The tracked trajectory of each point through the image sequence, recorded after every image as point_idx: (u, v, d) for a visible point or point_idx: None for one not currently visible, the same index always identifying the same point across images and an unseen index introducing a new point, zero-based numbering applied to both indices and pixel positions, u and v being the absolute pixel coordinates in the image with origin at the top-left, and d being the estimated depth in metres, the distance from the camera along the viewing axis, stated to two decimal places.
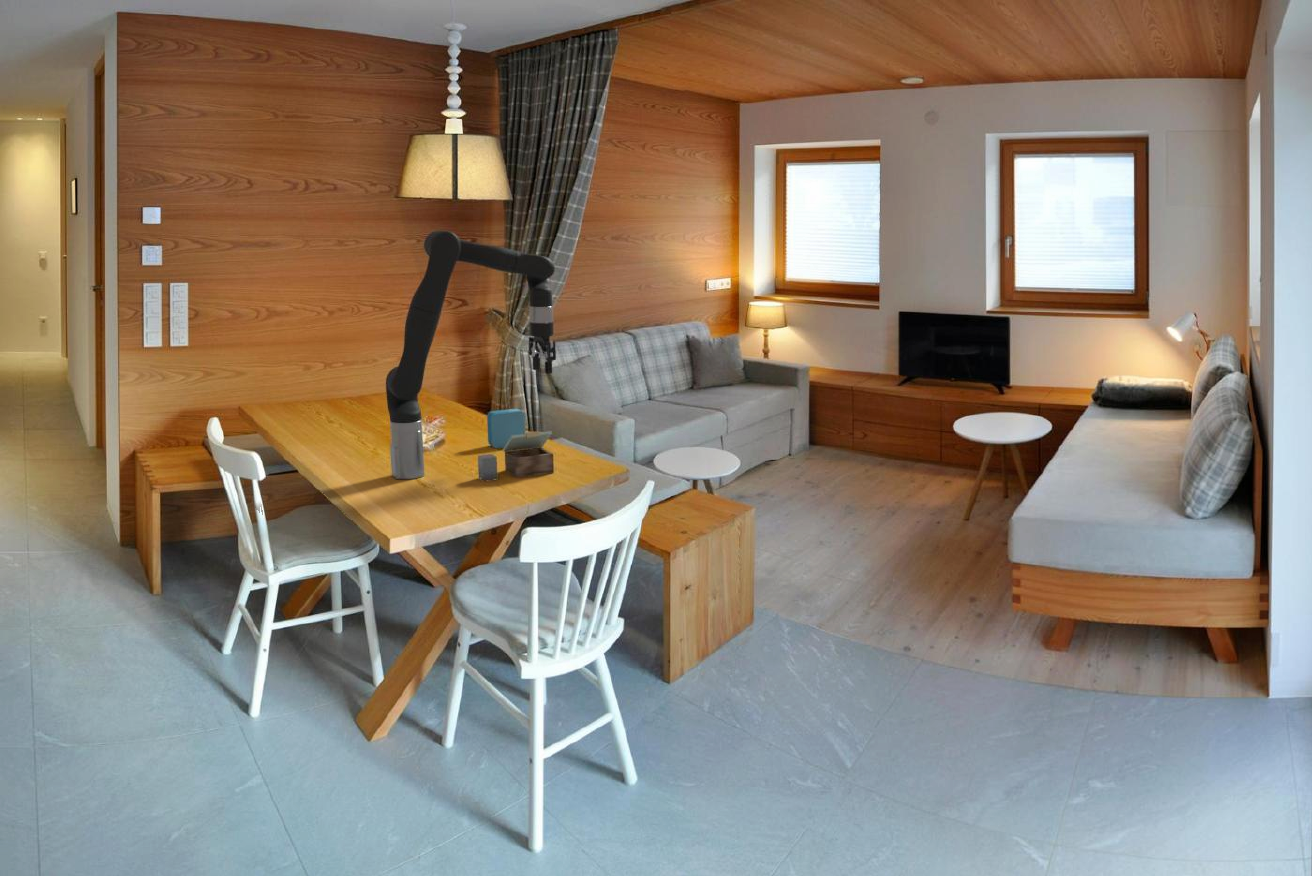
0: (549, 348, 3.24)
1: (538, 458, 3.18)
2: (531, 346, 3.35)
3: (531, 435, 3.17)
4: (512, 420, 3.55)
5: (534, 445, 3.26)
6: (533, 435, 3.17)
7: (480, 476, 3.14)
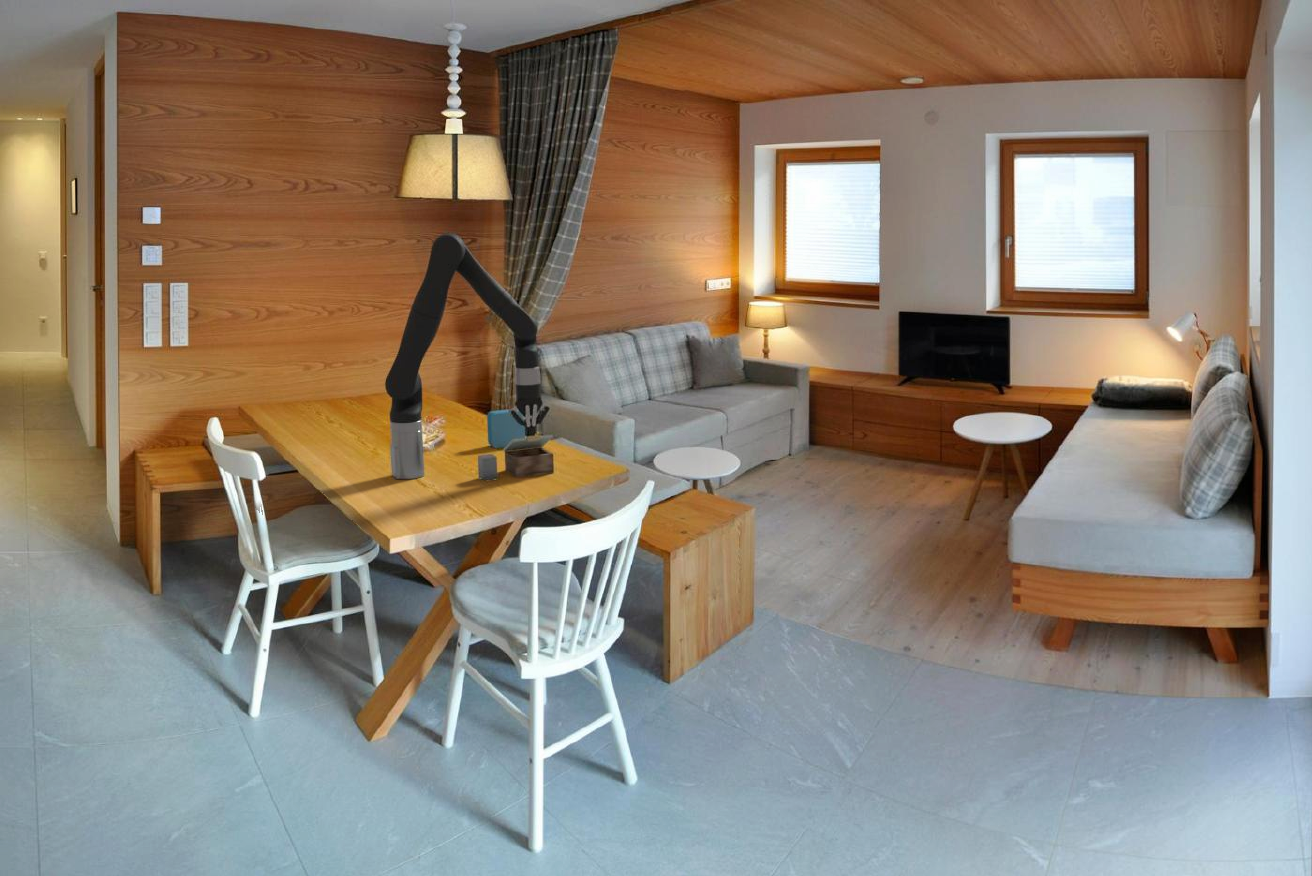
0: None
1: (538, 458, 3.18)
2: (518, 416, 3.15)
3: (532, 439, 3.16)
4: (512, 420, 3.55)
5: (535, 446, 3.26)
6: (534, 439, 3.17)
7: (480, 476, 3.14)
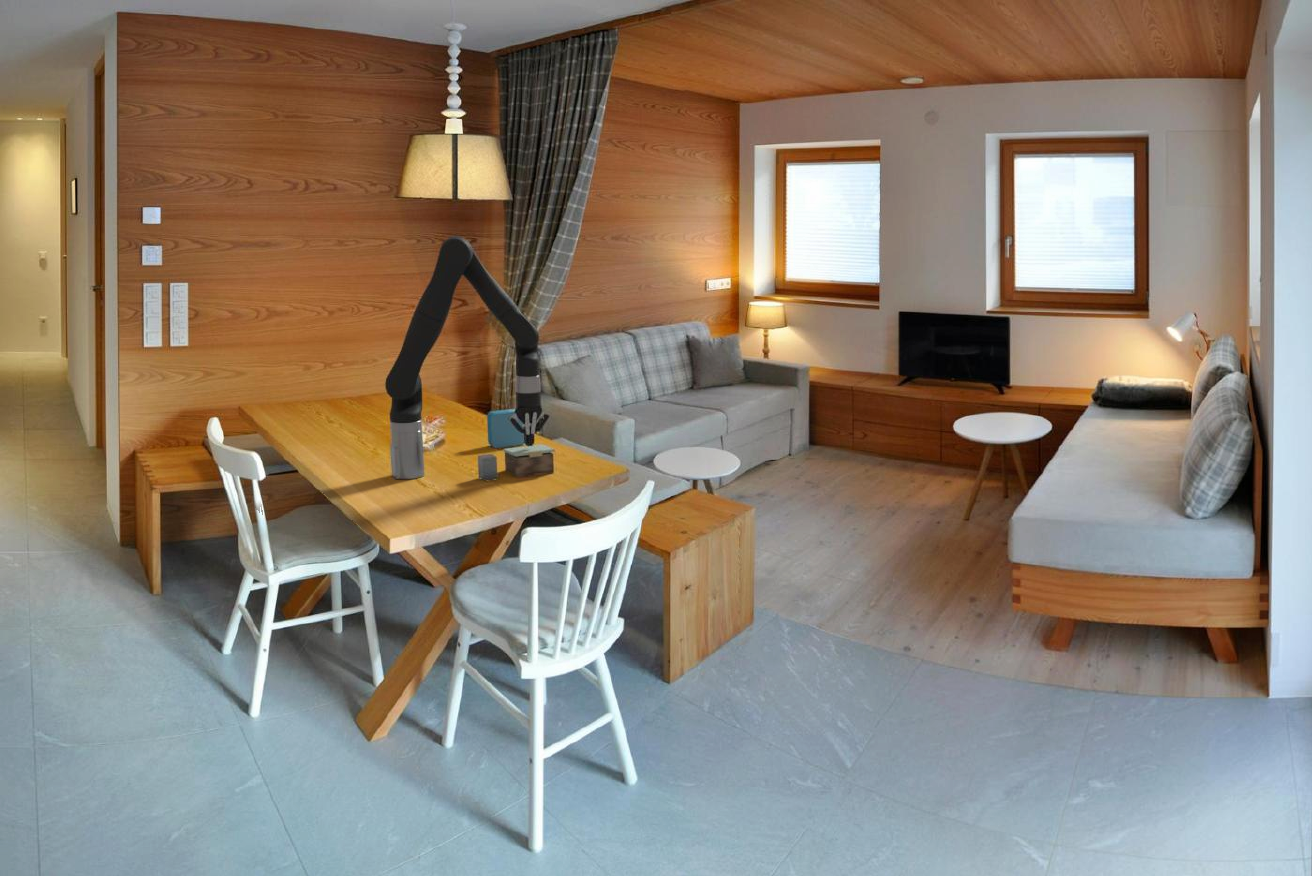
0: None
1: (538, 458, 3.18)
2: (518, 424, 3.17)
3: (534, 455, 3.16)
4: None
5: None
6: (536, 455, 3.17)
7: (480, 476, 3.14)
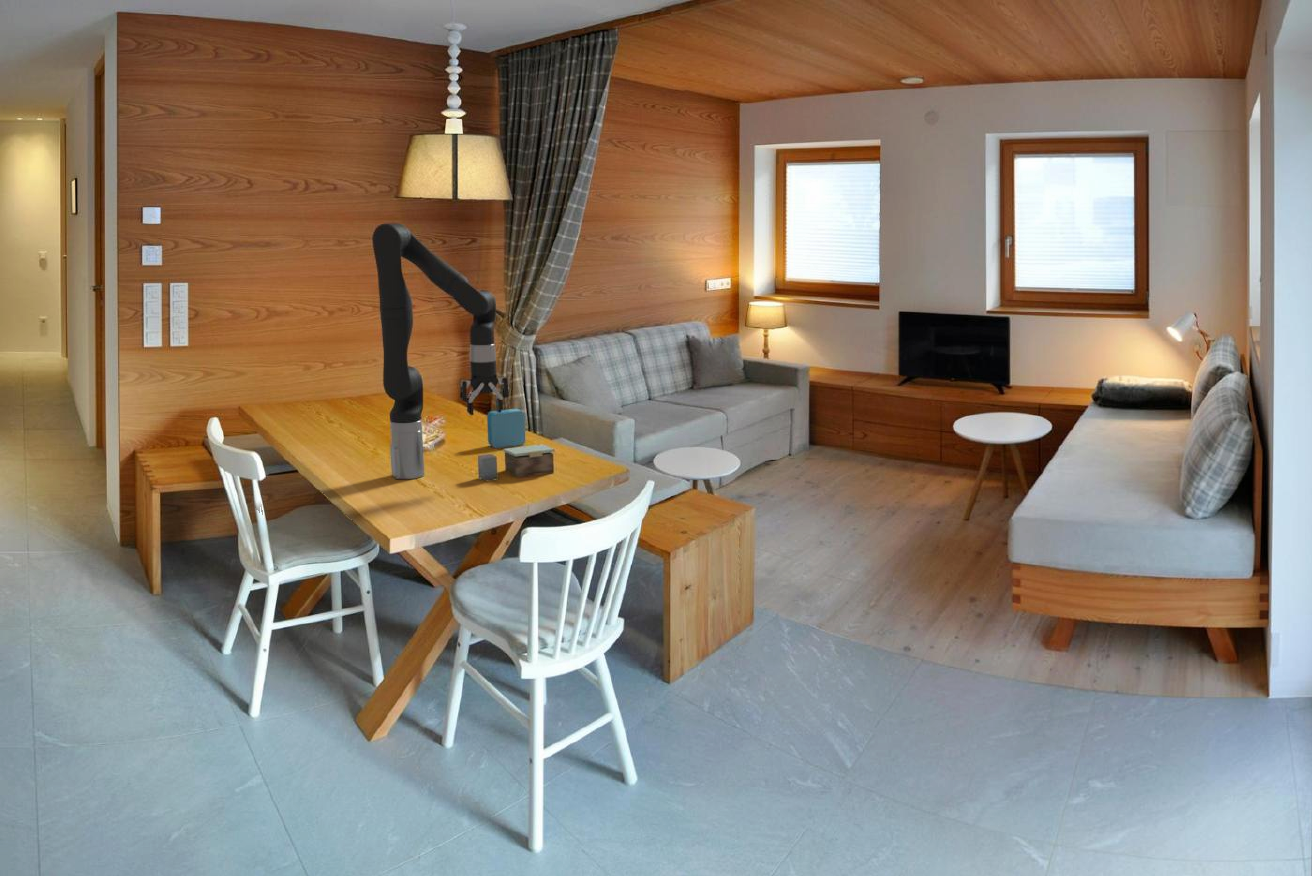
0: None
1: (538, 458, 3.18)
2: None
3: (534, 455, 3.16)
4: (512, 420, 3.55)
5: None
6: (536, 455, 3.17)
7: (480, 476, 3.14)
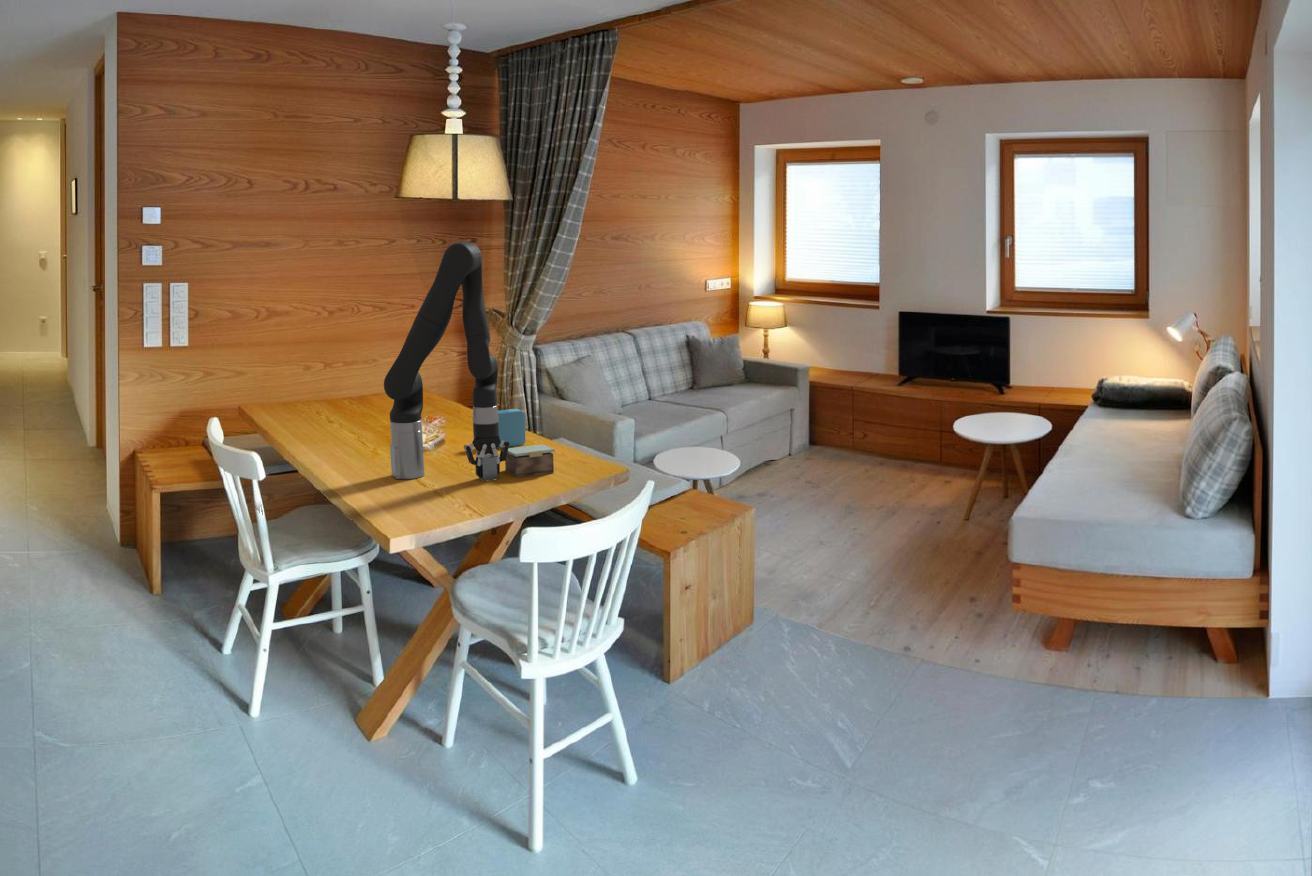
0: None
1: (538, 458, 3.18)
2: (472, 454, 3.10)
3: (534, 455, 3.16)
4: (512, 420, 3.55)
5: None
6: (536, 455, 3.17)
7: None
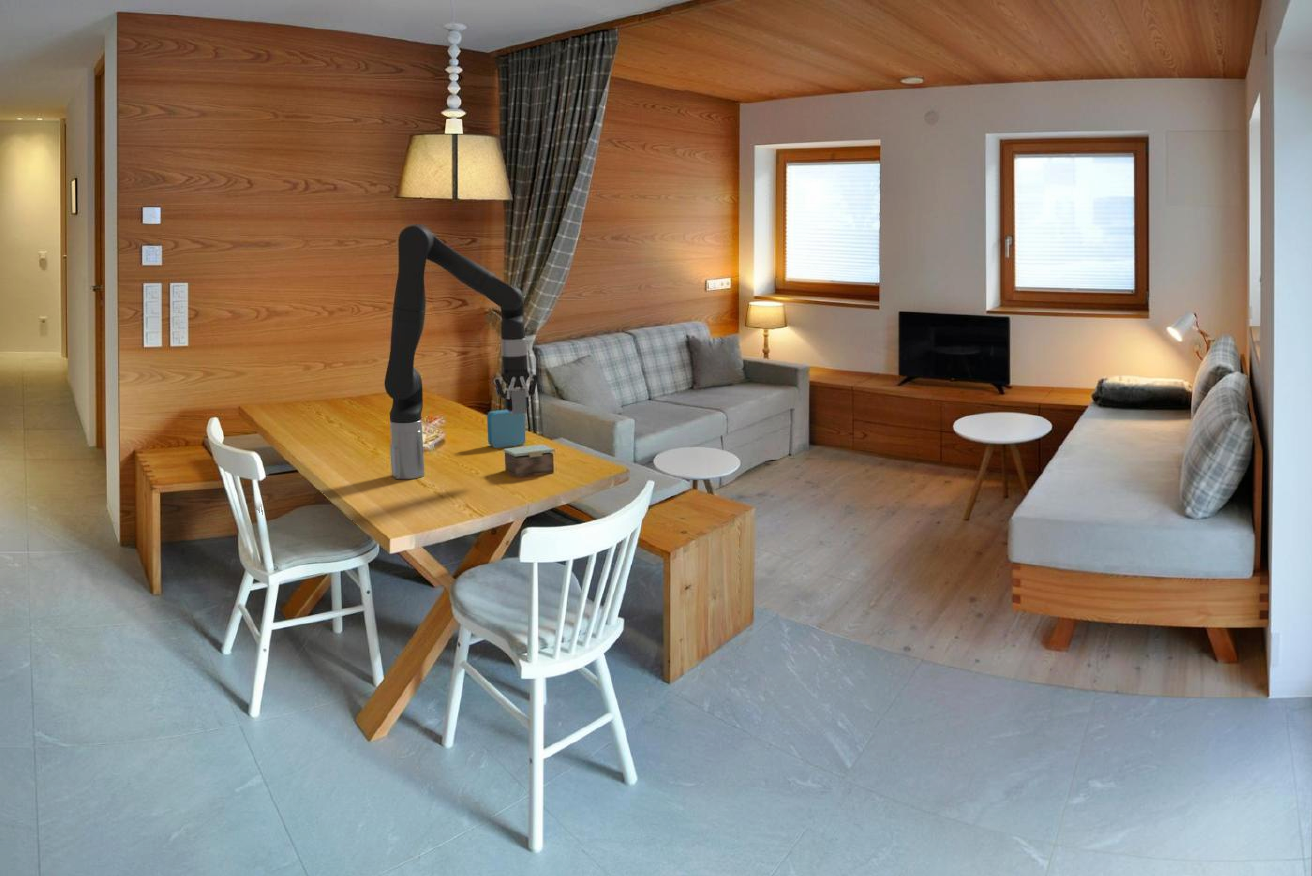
0: None
1: (538, 458, 3.18)
2: None
3: (534, 455, 3.16)
4: (512, 420, 3.55)
5: None
6: (536, 455, 3.17)
7: None
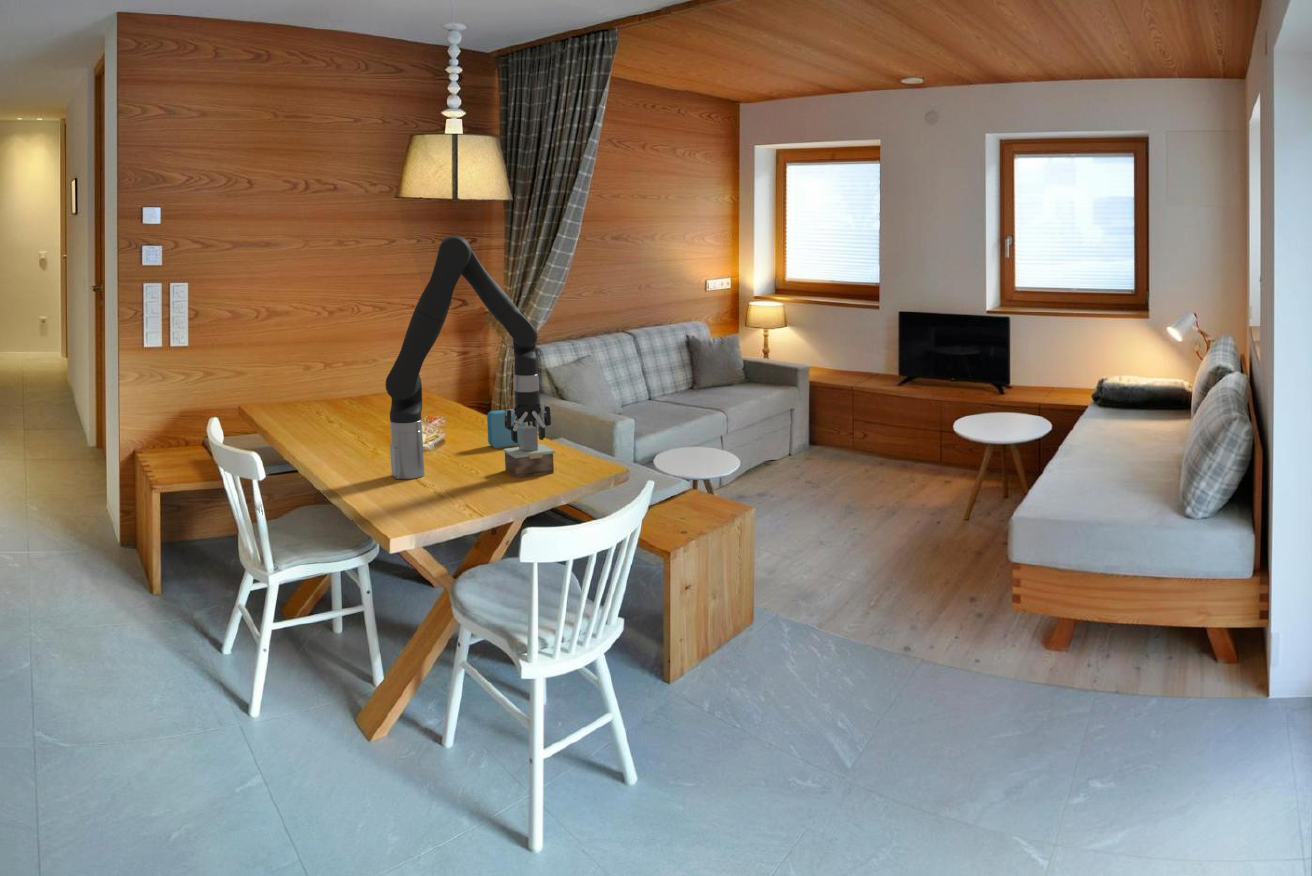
0: None
1: (538, 458, 3.18)
2: None
3: (534, 456, 3.16)
4: (512, 420, 3.55)
5: None
6: (536, 456, 3.17)
7: (521, 447, 3.21)
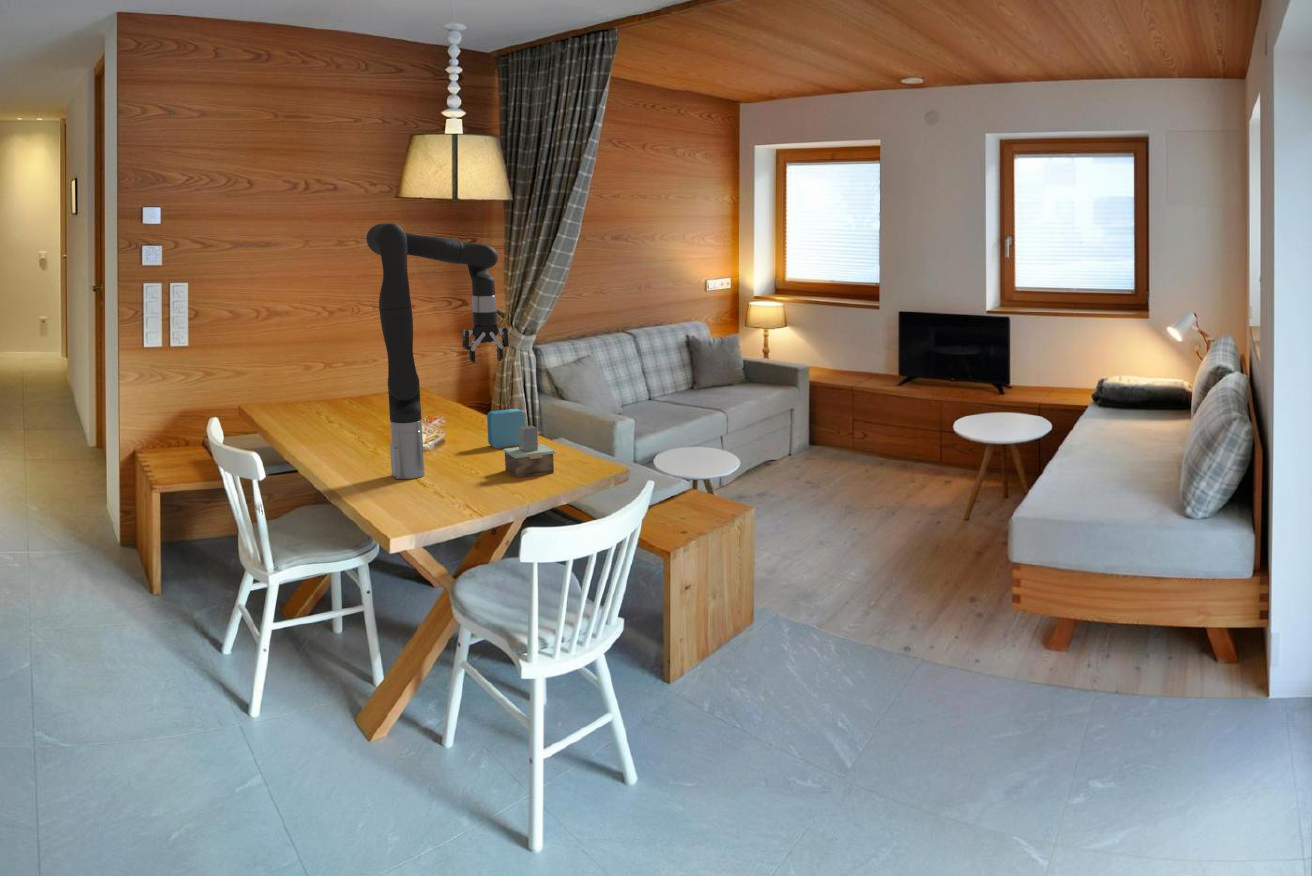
0: None
1: (538, 458, 3.18)
2: None
3: (534, 457, 3.16)
4: (512, 420, 3.55)
5: None
6: (536, 457, 3.17)
7: (521, 447, 3.21)
